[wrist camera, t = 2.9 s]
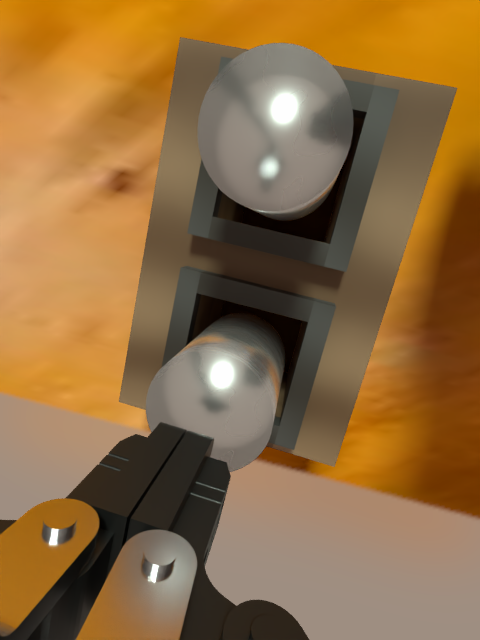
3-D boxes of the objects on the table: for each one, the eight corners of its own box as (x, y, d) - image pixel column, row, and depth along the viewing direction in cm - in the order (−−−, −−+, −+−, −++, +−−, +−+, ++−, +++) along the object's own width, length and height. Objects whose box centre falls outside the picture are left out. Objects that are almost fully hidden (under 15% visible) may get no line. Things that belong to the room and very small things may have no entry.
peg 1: (250, 107, 18) (214, 30, 11) (349, 127, 17) (374, 58, 10) (228, 208, 19) (184, 193, 12) (321, 230, 18) (328, 226, 11)
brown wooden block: (216, 92, 24) (172, 25, 17) (413, 132, 23) (466, 78, 15) (163, 363, 29) (110, 409, 21) (328, 409, 27) (335, 477, 19)
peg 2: (208, 303, 20) (157, 335, 13) (295, 325, 19) (288, 371, 13) (191, 383, 21) (136, 451, 14) (273, 407, 20) (255, 489, 14)
